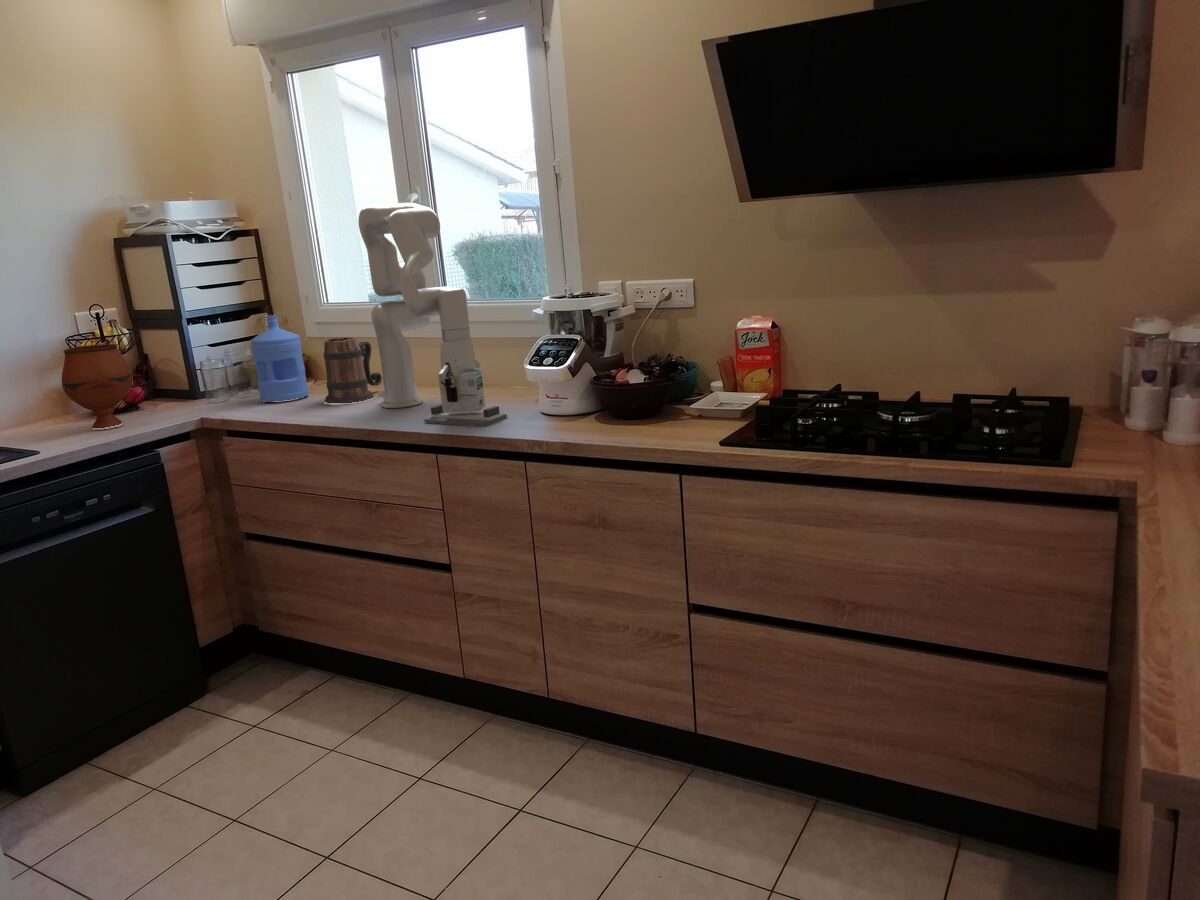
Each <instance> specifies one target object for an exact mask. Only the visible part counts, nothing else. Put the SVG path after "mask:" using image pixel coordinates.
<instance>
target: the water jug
mask: <svg viewBox="0 0 1200 900" xmlns="http://www.w3.org/2000/svg"><path fill="white" fill-rule="evenodd" d="M266 319H267V322H266V323H267V326H268V328H267V329H266V330H265V331H263V332H261V333H260V334H258V335H257V336H255V337H254V338H252V339H251V340H250V344H251V345H250V348H251V353H252V355H253V356H252V357H253V360H254V364H255V370H256V376H257V386H258V390H259V400H260V401H261V402H262V401H265V402H273V401H283V400H291V399H296V398H301V397H305V396H307V395H308V394H310V392H309V388H308V384H307V383H308V382H307V377H306V368H305V363H304V358H303V352H302V351H303V350H302V342H301V339H300V335H299V334H297V333H294V332H291V331H289V330H286V329H283V328H280V327H279V323H278V318H277V315H267V316H266ZM308 396H309V395H308ZM308 396H307V397H308Z"/></svg>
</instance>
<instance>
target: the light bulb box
mask: <svg viewBox="0 0 1200 900" xmlns="http://www.w3.org/2000/svg"><path fill="white" fill-rule="evenodd" d="M446 376H447V374H446ZM448 376H453V374H448ZM449 380H450V382H451V381H452V379H449ZM438 383H439V385H438V386H439V392H440V400H441V404H442V411H443V413H451V412H481V411H482V410H484V409H485V407H486V400H485V390H484V384H483V383H484V381H483V373H482V369H481V368H479V369H475V370H471V371H467V372H463V373H461V374H460V377H459V378H457V380H456V383H455V387H456V388H457V397H458V401H457V402H448V401H447V394H446V388H445V387H444V384H443V383H442V382H441V379H440V378H439V377H438Z"/></svg>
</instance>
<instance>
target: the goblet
mask: <svg viewBox="0 0 1200 900" xmlns="http://www.w3.org/2000/svg"><path fill="white" fill-rule="evenodd" d="M63 353H64V360H63V367H62V372H61V387H62V390H63V392H64V393H65V395H66V396H67V397H68V398H69V399H71V401H73V402H74V403H76V404H77V405H78V406H80V407H83V408H85V409H87V410H89V411H92V415H94V416H95V417H96V419H95V421H94V423H93V424H92V427H91V429H92V428H105V427H110V426H115V425H119V424H121V423H122V422H123V421H122V420H120V418H118V417H116V416H115V414H114V412H115V407H116V406H117V405H119V404H120V403H121V402H122V401H123V400H125V398H126V397H127V396H128V394H129V392H130V390H131V389H132V387H133V380H134V376H133V372H132V370H131V367H130V365H129V363H128V362H127V360H126V358H125V357H124V356H123V354H122V352H121V351H120V350H119V347H118V344H115V343H114V344H113V343H112V344H111V343H109V344H108V343H105V344H92V345H91V344H89V345H82V346H74V347H70V348H67V349H64V350H63Z"/></svg>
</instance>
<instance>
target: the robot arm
mask: <svg viewBox="0 0 1200 900" xmlns="http://www.w3.org/2000/svg"><path fill="white" fill-rule="evenodd" d="M358 228H359V233H360V235H361V239H362V241H363V242H364V245H365V249H366V252H367V253H366V254H367V259H368V265H369V272H370V273H369V274H370V279H371V286H372V289H373V292H374V293H375V295H377V296H379V297H381V298H382V297H384V298H386V297H398V296H402V299H396V300H388V301H383V302H380V303H377V304H376V305H374V307H373V308H372V309H371V313H370V315H371V318H370V319H371V322H372V325H373V327H374V333H375V335H376V338H377V340H376V341H377V344H378V350H379V357H380V363H381V364H380V365H381V370H382V371H381V373H382V378H383V379H382V381H383V386H384V390H380V391H379V392H378V393H377V398H383V399H382V402H381V407H382V408H386V409H400V408H401V409H402V408H409V407H413V406H418V405H420V404H422V403H423V401H424V399H423V397H421V396H418V392H417V383H416V375H415V367H414V359H413V351H412V345H411V344H410V342H409V340H408V339H407V338H406V337H405V336H404V335H403V333H404V332H411V331H416V330H417V331H418V330H423V329H425V328H426V327H427V326H428V325H429V322H430V317H435V316H439V323H440V330H441V339H442V341H441V343H440V371H439V372H438V379H439V378H440V379H441V382H442V383H443V384H444V387H445V388H446V394H447V401H448V402H457V401H458V397H457V388H456V387H455V383H456V380H457V378H459V377H460V374H461V373H463V372H467V371H471V370H475V369H481V363H480V362H479V361H478V360H476V355H475V351H474V345H473V342H472V341H473V340H472V338H471V329H470V321H469V320H470V317H469V311H468V301H467V293H466V291H465V289H463V288H461V287H452V286H438V287H434V286H433V287H427V283H426V277H425V273H424V271H423V269H424V268H426V267H427V266H428V265H429V264H430V263H431V262H432V261H433V259H434V255H435V253H434V251H433V248H432V246H431V245H430V243H429V242H430V241H429V240H428V239H434V238H436V237H438V236H439V234H440V232H441V222H440V218H439V216H438V215H437V213H436V212H435V211H434V210H433V209H432V208H430V207H428V206H425V205H421V204H418V203H415V202H399V203H397V202H393V203H390V202H389V203H376V204H369V205H366V206H364V207H363V208H362V209H361V210H360V212H359V214H358ZM387 234H388V235H389V234H391V236H392V238H393V240H394V242H393V241H392V239H390V238H389V236H388V235H387ZM395 244H396V245H395ZM398 251H399V253H400V257H401V258H402V260H403V262H399V258H398ZM446 374H447V376H446ZM448 374H453V376H448ZM449 379H452V381H451V382H450V380H449Z"/></svg>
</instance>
